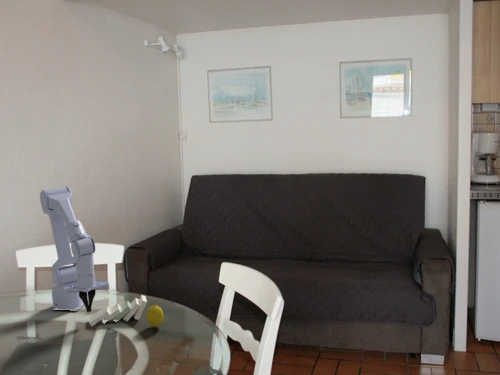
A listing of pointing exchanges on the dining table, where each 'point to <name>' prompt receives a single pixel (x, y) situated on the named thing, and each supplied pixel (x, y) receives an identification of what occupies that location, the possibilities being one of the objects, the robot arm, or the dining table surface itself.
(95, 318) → the light grey rectangular block
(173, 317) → the dining table surface
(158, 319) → the lemon
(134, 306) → the domino
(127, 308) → the domino
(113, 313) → the domino
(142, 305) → the domino
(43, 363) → the dining table surface
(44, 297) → the dining table surface
